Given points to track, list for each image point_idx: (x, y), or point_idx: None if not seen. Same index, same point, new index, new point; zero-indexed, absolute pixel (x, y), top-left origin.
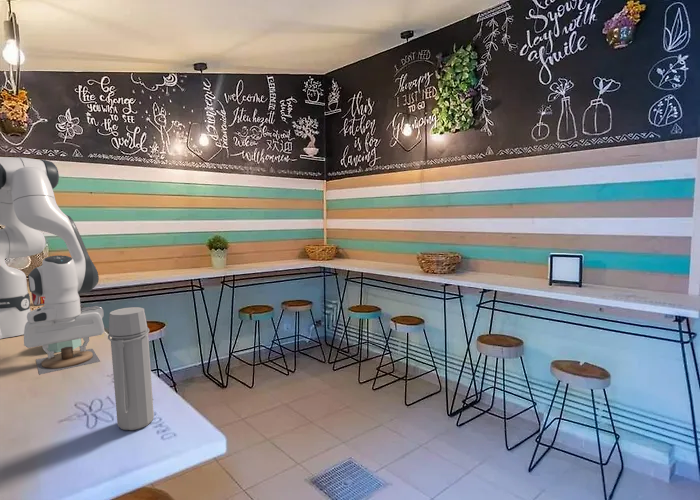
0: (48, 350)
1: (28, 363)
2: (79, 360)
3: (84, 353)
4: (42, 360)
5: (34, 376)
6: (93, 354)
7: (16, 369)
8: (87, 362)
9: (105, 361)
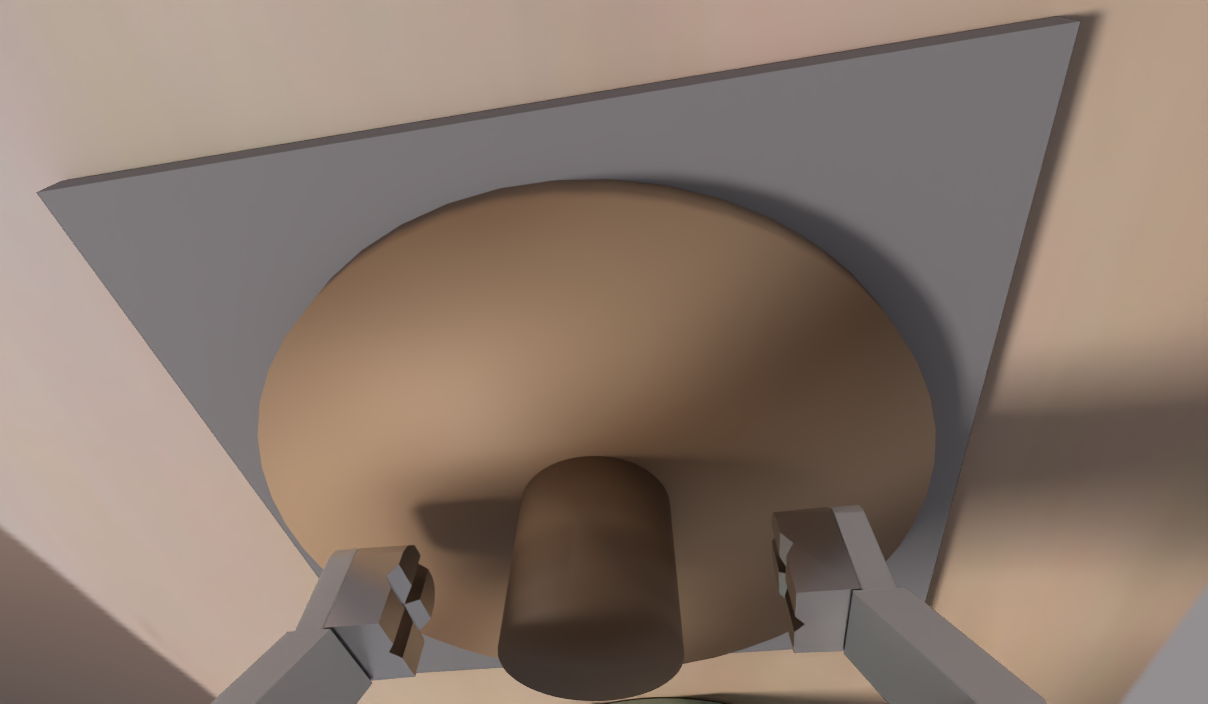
0: (900, 654)
1: (984, 602)
2: (388, 315)
3: None
4: None
5: (1121, 61)
6: None
7: (1152, 503)
8: (273, 252)
9: (9, 220)
